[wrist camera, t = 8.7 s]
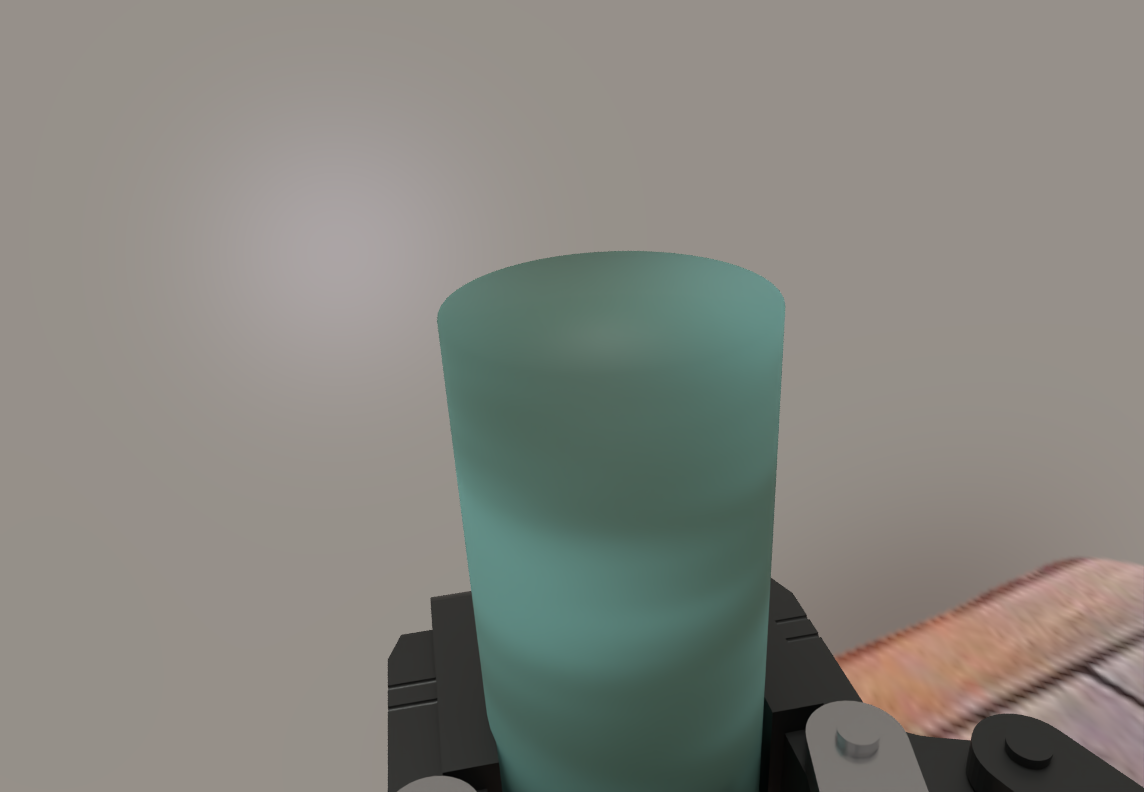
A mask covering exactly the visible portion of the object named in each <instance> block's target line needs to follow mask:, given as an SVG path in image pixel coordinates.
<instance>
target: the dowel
mask: <svg viewBox="0 0 1144 792" xmlns="http://www.w3.org/2000/svg"><path fill="white" fill-rule="evenodd" d="M437 319H438V320H437V323H438V332H439V339H440V347H441V355H442V363H443V371H444V379H445V387H446V394H447V403H448V411H449V418H450V426H451V434H452V442H453V449H454V458H455V466H456V473H457V481H458V489H459V497H460V505H461V513H462V521H463V529H464V537H465V544H466V552H467V560H468V568H469V576H470V584H471V592H472V600H473V608H474V616H475V623H476V631H477V639H478V647H479V655H480V663H481V671H482V679H483V687H484V694H485V702H486V710H487V716H488V721H489V725H490V729H491V731H492V734H493V736H494V739H495V741H496V745H497V752H498V759H499V767H500V775H501V783H502V791H503V792H759V783H760V765H761V746H762V728H763V709H764V691H765V672H766V654H767V635H768V617H769V598H770V580H771V560H772V543H773V524H774V504H775V487H776V468H777V449H778V431H779V411H780V394H781V375H782V358H783V337H784V320H785V302H784V298H783V296H782V294H781V293H780V291H779V290H778V289H777V288H776V287H775V286H774V285H773V284H772V283H771V282H769V281H768V280H766V279H765V278H764V277H762V276H759V275H758V274H756V273H754V272H752V271H750V270H747V269H744V268H741V267H739V266H736V265H733V264H729V263H726V262H722V261H718V260H714V259H709V258H703V257H698V256H692V255H683V254H675V253H664V252H647V251H611V252H594V253H582V254H572V255H564V256H557V257H551V258H545V259H539V260H535V261H530V262H526V263H522V264H518V265H514V266H510V267H507V268H504V269H501V270H498V271H495V272H492V273H489V274H487V275H484V276H482V277H479V278H477V279H475V280H473V281H471V282H469V283H467V284H466V285H464V286H462V287H461V288H459V289H458V290H456V291H455V292H454V293H452V294H451V295H450V296H449V297H448V298H447V299H446V300H445V302H444V303H443V304H442V305H441V307H440V310H439V312H438V317H437Z"/></svg>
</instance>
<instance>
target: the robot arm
mask: <svg viewBox="0 0 1144 792" xmlns="http://www.w3.org/2000/svg"><path fill="white" fill-rule="evenodd" d="M431 614H432V628H433V630H429V631H423V632H417V633H410V634H404V635H401V636H400V638H399V640H398V642H397V644H396V646H395V647H394V649H393V651H392V653H391V655H390V657H389V659H388V792H503V791H502V783H501V775H500V767H499V759H498V752H497V745H496V741H495V739H494V736H493V734H492V731H491V729H490V725H489V721H488V716H487V710H486V702H485V694H484V687H483V679H482V671H481V663H480V655H479V647H478V639H477V631H476V623H475V616H474V608H473V600H472V592H471V591H469V592H462V593H457V594H450V595H443V596H438V597H431ZM759 792H1144V788H1143V787H1142V786H1140V785H1139V784H1137V783H1136V782H1134V781H1133V780H1131V779H1130V778H1128V777H1127V776H1126V775H1124V774H1123V773H1121V772H1120V771H1118V770H1117V769H1115V768H1114V767H1112V766H1111V765H1109V764H1108V763H1106V762H1105V761H1103V760H1102V759H1101V758H1099V757H1098V756H1096V755H1095V754H1093V753H1092V752H1090V751H1089V750H1087V749H1086V748H1084V747H1083V746H1081V745H1080V744H1078V743H1077V742H1076V741H1074V740H1073V739H1071V738H1070V737H1068V736H1067V735H1065V734H1064V733H1062V732H1061V731H1059V730H1058V729H1056V728H1054V727H1053V726H1051V725H1049V724H1047V723H1045V722H1043V721H1041V720H1038V719H1035V718H1032V717H1028V716H1024V715H1018V714H998V715H993V716H990V717H987V718H985V719H983V720H982V721H981V722H979V723H978V724H977V725H976V727H975V728H974V730H973V733H972V737H971V741H970V740H958V739H947V738H935V737H926V736H919V735H915V734H911V733H907V732H905V730H904V729H903V727H902V726H901V725H900V724H899V723H898V722H897V721H896V720H895V718H893V717H892V716H891V715H889V714H888V713H886V712H885V711H883V710H881V709H879V708H877V707H875V706H872V705H869V704H866V703H863V702H862V700H861V698H860V697H859V695H858V694H857V692H856V691H855V689H854V688H853V686H852V685H851V683H850V681H849V680H848V678H847V677H846V675H845V674H844V672H843V671H842V669H841V668H840V666H839V664H838V663H837V661H836V660H835V658H834V657H833V655H832V654H831V652H830V650H829V649H828V647H827V646H826V644H825V643H824V641H823V640H822V638H821V637H820V638H819V636H818V632H817V630H816V629H815V627H814V626H813V624H812V623H811V621H810V620H808V619H807V615H806V613H805V612H804V610H803V609H802V607H801V606H800V604H799V602H798V601H797V599H796V598H795V596H794V595H793V593H792V592H790V591H789V590H787V589H786V588H784V587H783V586H782V585H780V584H779V583H778V582H776V581H775V580H773V579H772V578H771V580H770V598H769V617H768V635H767V654H766V672H765V691H764V709H763V728H762V746H761V765H760V783H759Z"/></svg>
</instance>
